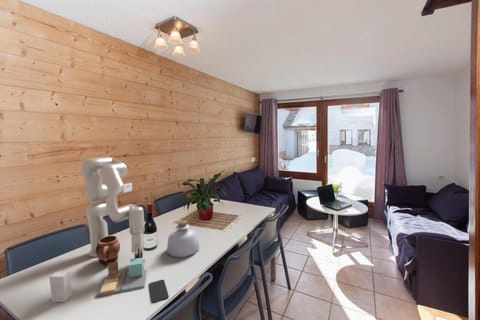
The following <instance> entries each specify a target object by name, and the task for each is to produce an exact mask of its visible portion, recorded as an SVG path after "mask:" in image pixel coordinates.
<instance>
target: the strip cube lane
mask: <svg viewBox="0 0 480 320" xmlns="http://www.w3.org/2000/svg"><path fill="white" fill-rule="evenodd" d="M138 251H139V250H138ZM143 251H144V250H143V249H142V250H141V251H140V256H141V258H143V270H145V264H146V259H144V254H143V253H144V252H143ZM138 253H139V252H138ZM133 254H134V257H135V251H134V252H133ZM140 276H143V274H142V275H137V276H131V277H129V278H134V277H140Z"/></svg>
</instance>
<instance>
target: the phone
mask: <svg viewBox="0 0 480 320" xmlns="http://www.w3.org/2000/svg"><path fill="white" fill-rule="evenodd" d="M148 291H149V295H150V296H149V297H150V300H151V301H150V302H151V303H152V304H155V303H159V302H162V301H165V300H168V298H170V297H169V292H168V288H167V285H166V282H165V280H164V279H159V280H156V281H152V282H149V283H148Z"/></svg>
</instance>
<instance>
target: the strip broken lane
mask: <svg viewBox="0 0 480 320" xmlns="http://www.w3.org/2000/svg"><path fill="white" fill-rule="evenodd" d="M107 271H108V272H107V273H108V274H107V275H106V276H107V277H106V276H105V277H106V279H105V282H104V284H105V283H111V282H116V281H118V280H119V277H120V274H122V273H121V271H119V261H118V260H117V261H116V262H111V263H109V264H108V265H107Z"/></svg>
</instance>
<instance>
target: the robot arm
mask: <svg viewBox="0 0 480 320" xmlns="http://www.w3.org/2000/svg"><path fill="white" fill-rule="evenodd" d="M80 171H81V173H82V175H83V178H84V179H83V180H84V184H85V192H86V198H87V199H88V201H89V202H94V203H91V204H89V205H88V206H87V207H86V209H85V215H86V217H87V221H88V227H89V228H88V229H89V241H90V250H89V251H88V256H89V257H91V258H98V257H97V255H96V247H97V244H98V241H99V240H100V239H101V238H103V237H106V236H109V231H108V223H107V221H106V219H104V217H107V216H109V217H110V219H111V220H112V222H114V223H120V222H123V221H126V220H128V223H129V225H128V226H129V234H130V235H131V253H134V252H135V256H134V258H133V259H136V258H141V256H140V251H141V250H143V245H144V234H143V233H144V232H145V215H144V214H145V213H144V211H145V210H144V208H143V207H142V206H138V205H135V204H133V203H129V204H125V205H123V206H120V207H118V198H117V195H118V194H119V193H120V192H122V191H123V190H124V189H125V187H126V186H125V184H124V181H123V178H122V177H125V176H126V175H127V174H128V167H127V165H126V164H125V163H124V162H122V161H121V160H119V159H118V158H116V157H113V156H98V157H96V156H95V157H89V158H86V159H84V160H82V162H81V164H80ZM98 172H100V174H101V175H100V174H99V173H98ZM102 179H103V181H104V183H103V181H102ZM104 199H105V200H104ZM102 200H103V201H102ZM96 201H97V202H96ZM138 250H139V251H138ZM138 252H139V253H138Z"/></svg>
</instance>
